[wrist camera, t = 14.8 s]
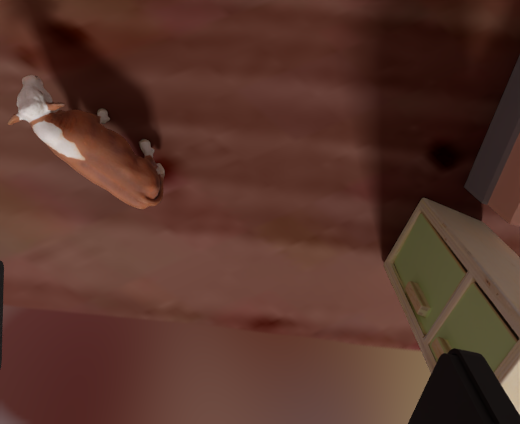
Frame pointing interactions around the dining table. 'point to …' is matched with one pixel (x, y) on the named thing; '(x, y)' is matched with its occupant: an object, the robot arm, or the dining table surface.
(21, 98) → the bull figurine
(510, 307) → the toy refrigerator
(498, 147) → the pink and grey block
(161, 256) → the dining table surface
